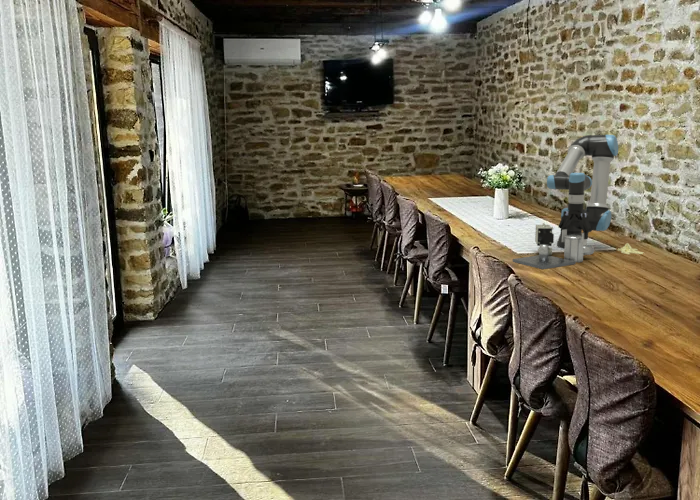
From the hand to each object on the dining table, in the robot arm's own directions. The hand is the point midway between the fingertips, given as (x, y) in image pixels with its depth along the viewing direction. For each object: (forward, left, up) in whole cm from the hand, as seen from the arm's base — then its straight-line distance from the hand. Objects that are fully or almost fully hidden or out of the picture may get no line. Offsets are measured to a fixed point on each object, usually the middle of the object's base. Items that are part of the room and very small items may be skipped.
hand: (573, 243), depth 318 cm
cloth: (-47, -5, -12) cm, 48 cm away
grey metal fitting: (0, 0, -9) cm, 9 cm away
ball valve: (+2, -19, -9) cm, 21 cm away
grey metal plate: (+17, -4, -9) cm, 19 cm away
